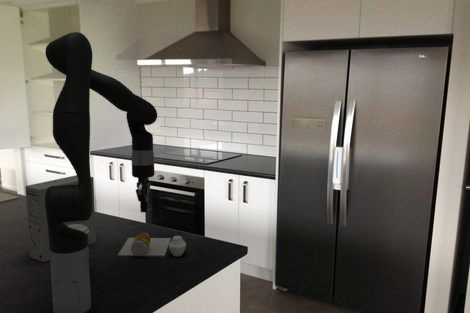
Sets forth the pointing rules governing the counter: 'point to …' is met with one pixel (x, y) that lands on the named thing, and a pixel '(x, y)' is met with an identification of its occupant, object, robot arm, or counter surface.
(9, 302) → the counter surface
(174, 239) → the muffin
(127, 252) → the topple mat
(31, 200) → the cereal box
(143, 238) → the supplement bottle
